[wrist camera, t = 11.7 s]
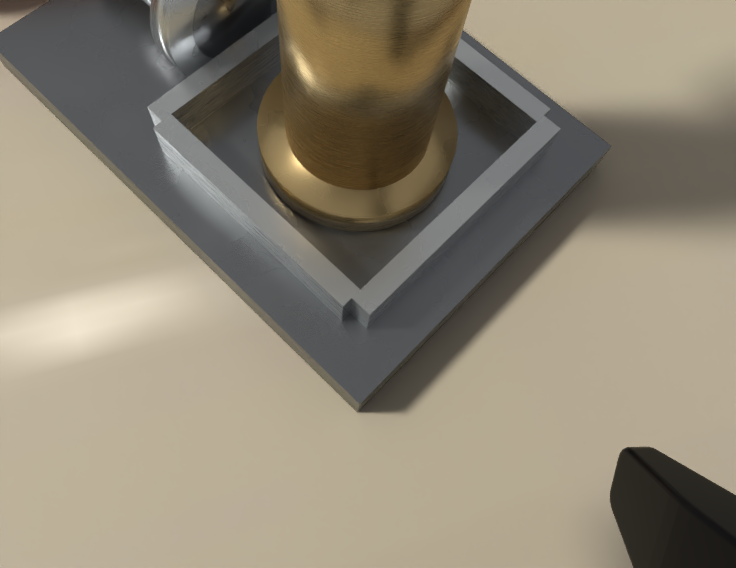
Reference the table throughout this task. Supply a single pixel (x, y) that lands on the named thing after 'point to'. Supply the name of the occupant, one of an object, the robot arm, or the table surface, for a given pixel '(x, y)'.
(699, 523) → the robot arm
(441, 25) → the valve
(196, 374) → the table surface
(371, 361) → the socket plate
